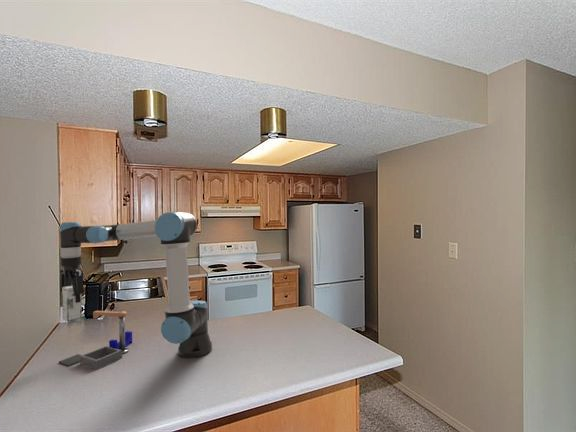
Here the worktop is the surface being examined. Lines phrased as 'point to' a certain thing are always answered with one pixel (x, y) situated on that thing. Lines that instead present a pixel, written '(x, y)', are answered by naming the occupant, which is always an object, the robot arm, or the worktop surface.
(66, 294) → the syrup box
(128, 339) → the blue stepped block
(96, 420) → the worktop surface
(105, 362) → the cradle
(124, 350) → the post
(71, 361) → the pad
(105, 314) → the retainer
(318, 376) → the worktop surface
